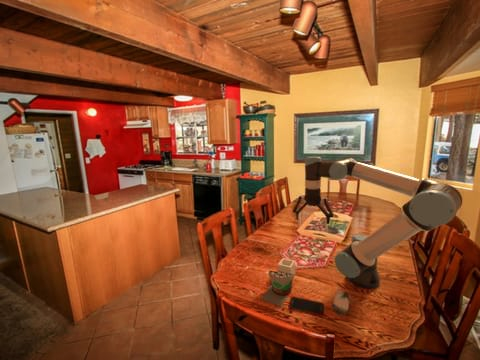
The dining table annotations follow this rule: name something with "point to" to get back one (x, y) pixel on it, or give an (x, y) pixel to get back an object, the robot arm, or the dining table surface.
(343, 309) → the silver round cylinder
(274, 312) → the dining table surface
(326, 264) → the dining table surface
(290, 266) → the cup
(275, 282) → the food container
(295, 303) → the cell phone
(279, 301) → the felt pad
